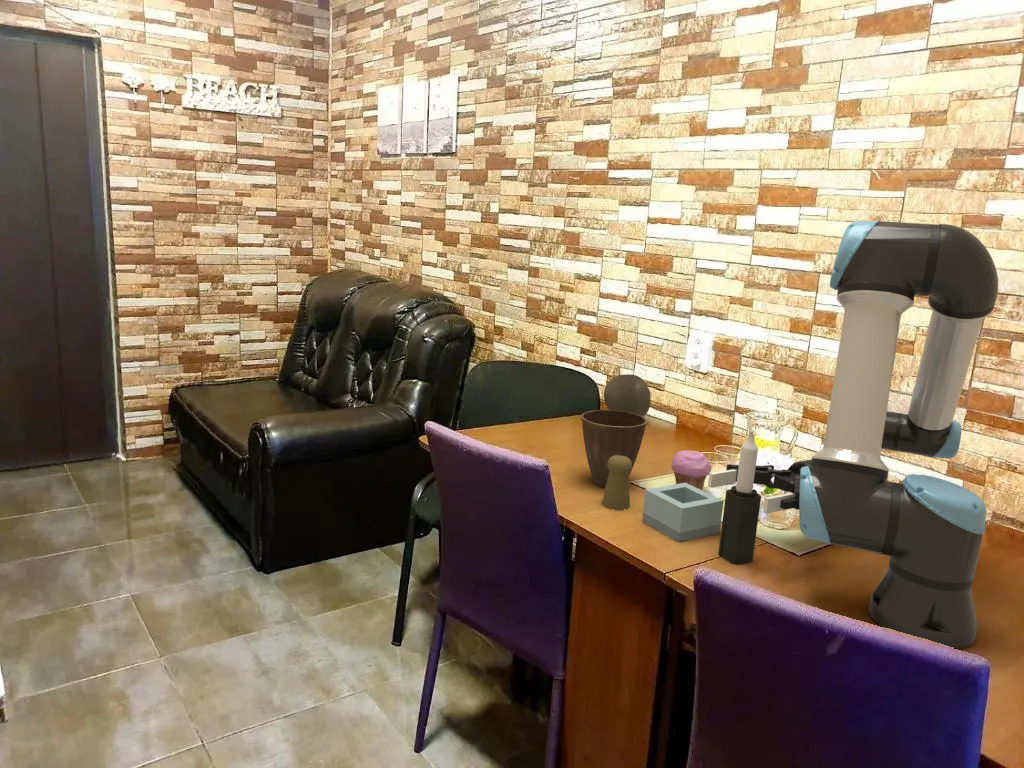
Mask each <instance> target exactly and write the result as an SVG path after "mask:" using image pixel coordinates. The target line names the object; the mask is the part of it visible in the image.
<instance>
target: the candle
mask: <svg viewBox="0 0 1024 768" xmlns="http://www.w3.org/2000/svg"><path fill="white" fill-rule="evenodd" d="M754 434H755V430H754V429H751V428H750V429H749V434H748V435H747V438H746V440H745V442H743V444H742V445H741V447H740V452H739V462H738V465H739V468H738V476H737V482H736V483H735V485H732V486H731V487H730V489H727V490H725V498H724V503H723V511H722V519H721V527H720V537H719V543H718V544H719V547H718V552H717V553H718V554H717V555H718V556H719V557H722V558H723V559H725V561H727V562H729V563H730V564H733V565H742V564H748V563H752V562H753V560H754V555H755V553H754V552H755V548H756V547H755V545H756V538H757V531H758V523H759V516H760V510H761V502H762V495H761V494H759V493H758V491H757V490H756V489H754V484H753V483H754V475H755V468H756V466H757V459H758V452H759V449H758V447H759V446H757V443H756V442H755V441H756V440H755V435H754Z"/></svg>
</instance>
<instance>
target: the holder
mask: <svg viewBox="0 0 1024 768" xmlns="http://www.w3.org/2000/svg"><path fill="white" fill-rule="evenodd" d="M724 503H725V500H723V499H721V498H719V497H717V496H716V495H715V496H714V495H713V494H710V493H708V492H706V491H704V490H700V489H698V488H696V487H694V486H692V485H689V484H687V483H681V484H676V483H675V484H670V485H664V486H657V487H651V488H646V489H644V499H643V511H642V520H641V522H642V521H644V522H645V523H644V522H643V523H644V524H646V523H647V524H646V525H648V524H649V525H650V527H651V526H652V527H651V528H653V527H654V528H653V529H655V530H656V529H657V530H656V531H658V530H659V532H660V531H661V532H662V533H661V532H660V533H661V534H663V533H664V534H663V535H665V534H666V535H665V536H667V537H668V536H669V538H670V537H671V538H670V539H672V538H673V539H672V540H673V541H675V540H676V541H675V542H677V541H678V542H677V543H681V542H680V541H682V542H687V541H691V540H696V539H701V538H704V537H709V536H714V535H719V534H721V528H722V520H723V511H724ZM649 525H648V526H649ZM686 540H687V541H686Z"/></svg>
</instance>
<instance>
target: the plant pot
mask: <svg viewBox="0 0 1024 768" xmlns="http://www.w3.org/2000/svg"><path fill="white" fill-rule="evenodd" d="M647 422H648V421H647V419H646V418H645V416H644V417H642V416H640V415H637V414H634V413H630V412H624V411H616V410H609V409H597V410H589V411H586V412H584V413H582V415H581V427H582V435H583V443H584V448H585V454H586V459H587V463H588V468H589V471H590V474H591V479H592V480H593V483H594V485H596V486H599V487H601V488H604V489H605V488H606V484H607V479H608V475H609V469H608V465H607V464H608V460H609V458H610V457H612V456H615V455H620V456H625V457H628V458H629V459H630V460H631V462H632V468H631V470H630V472H629V473H628V474H629V476H630V475H631V473H632V470H633V468H634V465H635V462H637V461H636V460H637V457H638V455H639V452H640V448H641V447H642V446H641V445H642V441H643V438H644V434H645V431H646V425H647Z"/></svg>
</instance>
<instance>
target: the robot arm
mask: <svg viewBox="0 0 1024 768" xmlns="http://www.w3.org/2000/svg"><path fill="white" fill-rule="evenodd" d="M832 268H833V269H832V273H831V275H830V280H829V287H830V288H831V289H833V290H834V291H837V295H836V301H837V302H838V303H839V304H840V306H842V308H843V309H844V313H843V319H842V326H841V331H840V337H839V344H838V345H839V346H838V351H837V356H836V363H835V364H836V365H835V370H834V377H833V381H832V382H833V384H832V389H831V397H830V403H829V409H828V416H827V421H826V422H827V423H826V429H825V434H824V440H823V447H822V449H821V450H820V451H818V452H816V453H815V454H814V455H812V456H811V459H807V460H805V459H804V460H799V461H796V462H794V463H793V464H791V465H790V466H789V467H788V468H787V469H781V470H780V469H775V466H774V465H772V464H768V465H767V464H765V465H756V468H755V475H754V483H753V485H761V486H763V485H764V486H766V488H768V489H777V490H780V491H782V492H783V491H784V492H786V493H783V494H782V493H781V494H776V495H773V496H766V497H764V502H763V507H762V508H763V510H762V512H763V513H764V514H765V515H766V514H771V513H775V512H781V511H786V510H792V509H795V510H798V511H799V514H798V515H799V516H798V517H799V521H798V522H799V529H800V532H801V533H802V535H803V536H804V537H806V538H808V539H810V540H814V541H819V542H822V543H826V544H827V545H829V546H831V545H835V546H840V547H844V548H849V549H854V550H859V551H863V552H868V553H869V552H870V553H874V554H878V555H884V556H888V557H889V562H888V568H887V569H886V571H885V573H884V575H883V576H882V577H881V580H880V581H879V582H878V584H877V586H876V588H875V589H874V590H873V592H872V594H871V596H870V601H869V606H868V613H869V616H870V617H871V619H872V620H874V622H875V623H876V624H877V625H879V626H880V627H881V626H883V627H886V628H890V629H893V630H896V631H899V632H903V633H906V634H910V635H913V636H917V637H921V638H925V639H928V640H931V641H934V642H937V643H941V644H944V645H947V646H950V647H954V648H957V649H956V650H958V649H964V648H967V647H969V646H971V645H972V644H974V643H975V641H976V637H977V636H976V635H977V632H978V621H977V614H976V609H975V603H974V597H973V591H972V588H973V583H974V579H975V573H976V570H977V564H978V560H979V554H980V550H981V546H982V545H981V544H982V540H983V536H984V534H985V533H986V519H987V506H986V503H985V501H983V500H982V498H981V497H980V496H979V495H977V494H976V493H975V492H974V491H971V490H969V489H968V488H966V487H964V486H962V485H960V484H957V483H954V482H951V481H949V480H946V479H943V478H940V477H939V478H938V477H935V476H932V475H931V476H930V475H926V474H916V473H911V474H907V475H906V476H905V477H904V478H903V479H902V482H901V483H900V482H893V481H889V480H888V479H889V472H890V471H889V468H888V466H887V465H886V464H885V462H883V460H882V457H881V452H882V450H888V451H893V452H901V453H906V454H911V455H918V456H924V457H927V458H938V459H953V458H955V457H956V455H958V452H959V448H960V443H961V440H962V439H961V438H962V425H961V423H960V422H959V421H957V420H954V418H955V413H956V411H957V407H958V404H959V402H960V397H961V395H962V391H963V387H964V385H965V384H964V383H965V381H966V378H967V374H968V371H969V367H970V364H971V361H972V359H973V358H972V357H973V354H974V351H975V347H976V343H977V341H978V338H979V334H980V330H981V327H982V324H983V320H984V318H986V317H988V316H990V315H991V314H992V313H993V311H994V308H995V305H996V302H997V298H998V295H999V277H998V272H997V267H996V265H995V262H994V260H993V258H992V255H991V254H990V252H989V250H988V248H987V247H986V246H985V245H984V244H983V242H982V241H981V240H980V239H979V238H978V237H977V236H975V235H974V234H972V233H971V232H970V231H969V230H966V229H964V228H962V227H959V226H957V225H954V224H947V223H938V224H935V223H934V224H933V223H931V224H930V223H919V222H918V223H917V222H898V221H885V220H884V221H882V220H880V219H878V220H875V221H873V220H871V221H870V220H869V221H868V220H867V221H865V220H864V221H862V220H861V221H860V220H859V221H858V220H857V221H854V222H851V223H850V224H848V226H847V227H846V228H845V230H844V233H843V235H842V238H841V241H840V244H839V247H838V251H837V253H836V256H835V260H834V264H833V267H832ZM915 296H920V297H928V300H927V303H928V306H929V307H930V309H931V310H932V311H931V316H930V319H929V324H928V328H927V333H926V336H925V341H924V345H923V348H922V353H921V357H920V361H919V366H918V371H917V375H916V377H915V378H916V379H915V383H914V386H913V391H912V395H911V399H910V404H909V407H908V408H909V409H908V412H907V413H902V412H895V411H888V406H889V399H890V392H891V386H892V380H893V374H894V373H893V371H894V366H895V365H894V364H895V358H896V352H897V351H896V350H897V346H898V338H899V331H900V325H901V319H902V314H903V313H905V312H906V311H908V310H909V309H911V308H912V307H913V306H914V302H915V301H914V300H915ZM738 468H739V464H729V463H728V464H727V465H726V468H725V469H726V470H721V471H715V472H710V473H709V475H708V483H707V484H708V485H707V487H708V488H709V489H713V488H718V487H724V486H729V485H732V486H734V485H736V483H737V476H738ZM772 479H773V483H772ZM883 627H882V628H883Z"/></svg>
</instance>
